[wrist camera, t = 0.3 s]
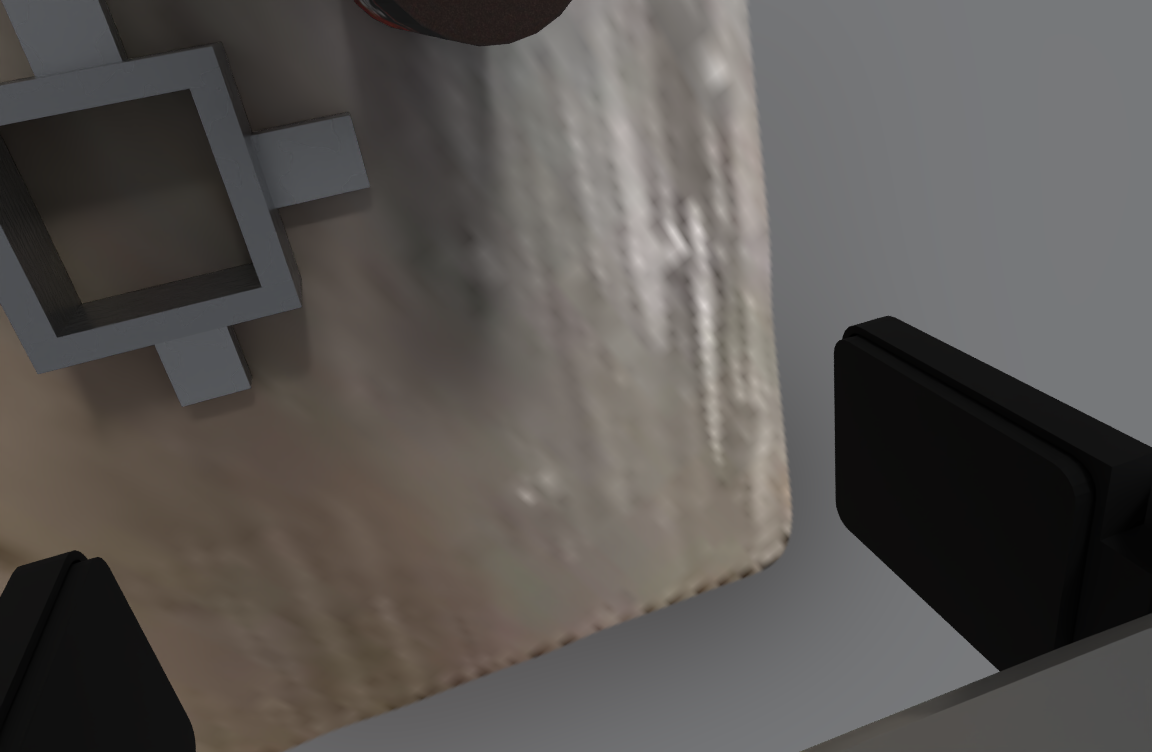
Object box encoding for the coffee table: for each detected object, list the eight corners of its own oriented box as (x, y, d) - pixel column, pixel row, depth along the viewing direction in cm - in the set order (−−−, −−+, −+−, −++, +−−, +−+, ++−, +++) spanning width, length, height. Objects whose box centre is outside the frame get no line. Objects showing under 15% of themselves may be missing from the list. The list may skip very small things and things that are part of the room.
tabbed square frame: (-250, -6, 27) (-330, -8, 24) (291, -91, 31) (291, -103, 27) (7, 443, 35) (-24, 490, 32) (410, 334, 39) (422, 367, 35)
